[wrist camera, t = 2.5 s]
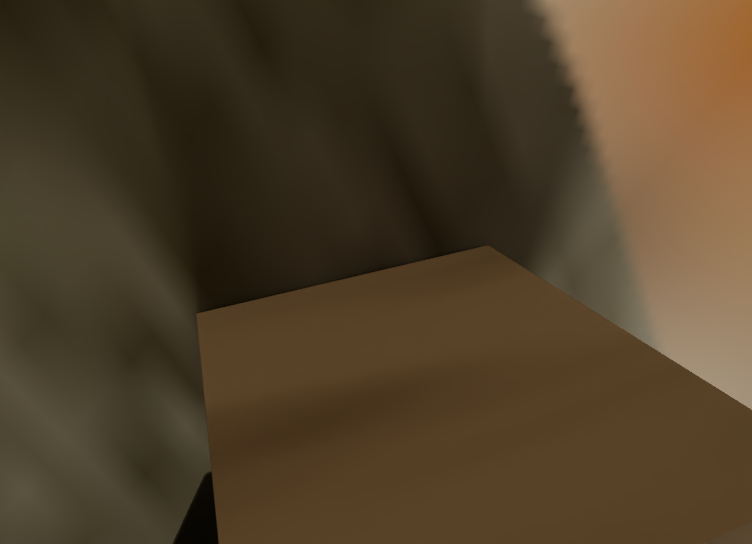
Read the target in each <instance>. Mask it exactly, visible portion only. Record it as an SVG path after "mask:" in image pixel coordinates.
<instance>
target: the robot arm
mask: <svg viewBox="0 0 752 544" xmlns="http://www.w3.org/2000/svg"><path fill="white" fill-rule="evenodd" d="M173 544H219V540H218V530H217V520H216V510H215V500H214V489H213V479H212V471H210V472H208V473H206V474H205V475H204V477H203V479H202V481H201V483H200V486H199V488H198V490H197V492H196V494H195V496H194V499H193V501H192V503H191V505H190V507H189V509H188V511H187V514H186V516H185V518H184V520H183V522H182V524H181V527H180V529H179V531H178V533H177V535H176V537H175V539H174V542H173Z"/></svg>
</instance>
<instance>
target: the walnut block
mask: <svg viewBox="0 0 752 544" xmlns="http://www.w3.org/2000/svg"><path fill="white" fill-rule="evenodd" d="M196 318H197V328H198V338H199V348H200V358H201V368H202V378H203V388H204V399H205V409H206V419H207V429H208V439H209V449H210V459H211V469H212V479H213V489H214V500H215V510H216V520H217V530H218V540H219V544H752V410H751V409H749V408H748V407H746V406H745V405H743V404H741V403H740V402H738V401H737V400H735V399H733V398H732V397H730V396H729V395H727V394H725V393H724V392H722V391H721V390H719V389H717V388H716V387H714V386H712V385H711V384H709V383H708V382H706V381H705V380H703V379H701V378H700V377H698V376H697V375H695V374H693V373H692V372H690V371H689V370H687V369H685V368H684V367H682V366H681V365H679V364H677V363H676V362H674V361H673V360H671V359H669V358H668V357H666V356H665V355H663V354H661V353H660V352H658V351H657V350H655V349H653V348H652V347H650V346H649V345H647V344H645V343H644V342H642V341H641V340H639V339H637V338H636V337H634V336H633V335H631V334H629V333H628V332H626V331H625V330H623V329H621V328H620V327H618V326H617V325H615V324H613V323H612V322H610V321H609V320H607V319H605V318H604V317H602V316H601V315H599V314H597V313H596V312H594V311H593V310H591V309H589V308H588V307H586V306H585V305H583V304H581V303H580V302H578V301H577V300H575V299H573V298H572V297H570V296H569V295H567V294H565V293H564V292H562V291H561V290H559V289H557V288H556V287H554V286H553V285H551V284H549V283H548V282H546V281H545V280H543V279H541V278H540V277H538V276H537V275H535V274H533V273H532V272H530V271H529V270H527V269H525V268H524V267H522V266H521V265H519V264H517V263H516V262H514V261H513V260H511V259H509V258H508V257H506V256H505V255H503V254H501V253H500V252H498V251H497V250H495V249H493V248H492V247H490V246H489V245H487V246H483V247H478V248H474V249H470V250H466V251H461V252H457V253H453V254H449V255H444V256H440V257H436V258H432V259H427V260H423V261H419V262H415V263H410V264H406V265H402V266H397V267H393V268H389V269H385V270H380V271H376V272H372V273H368V274H363V275H359V276H355V277H351V278H346V279H342V280H338V281H334V282H329V283H325V284H321V285H317V286H312V287H308V288H304V289H300V290H295V291H291V292H287V293H283V294H278V295H274V296H270V297H266V298H261V299H257V300H253V301H248V302H244V303H240V304H236V305H231V306H227V307H223V308H219V309H214V310H210V311H206V312H202V313H197V314H196Z"/></svg>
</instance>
